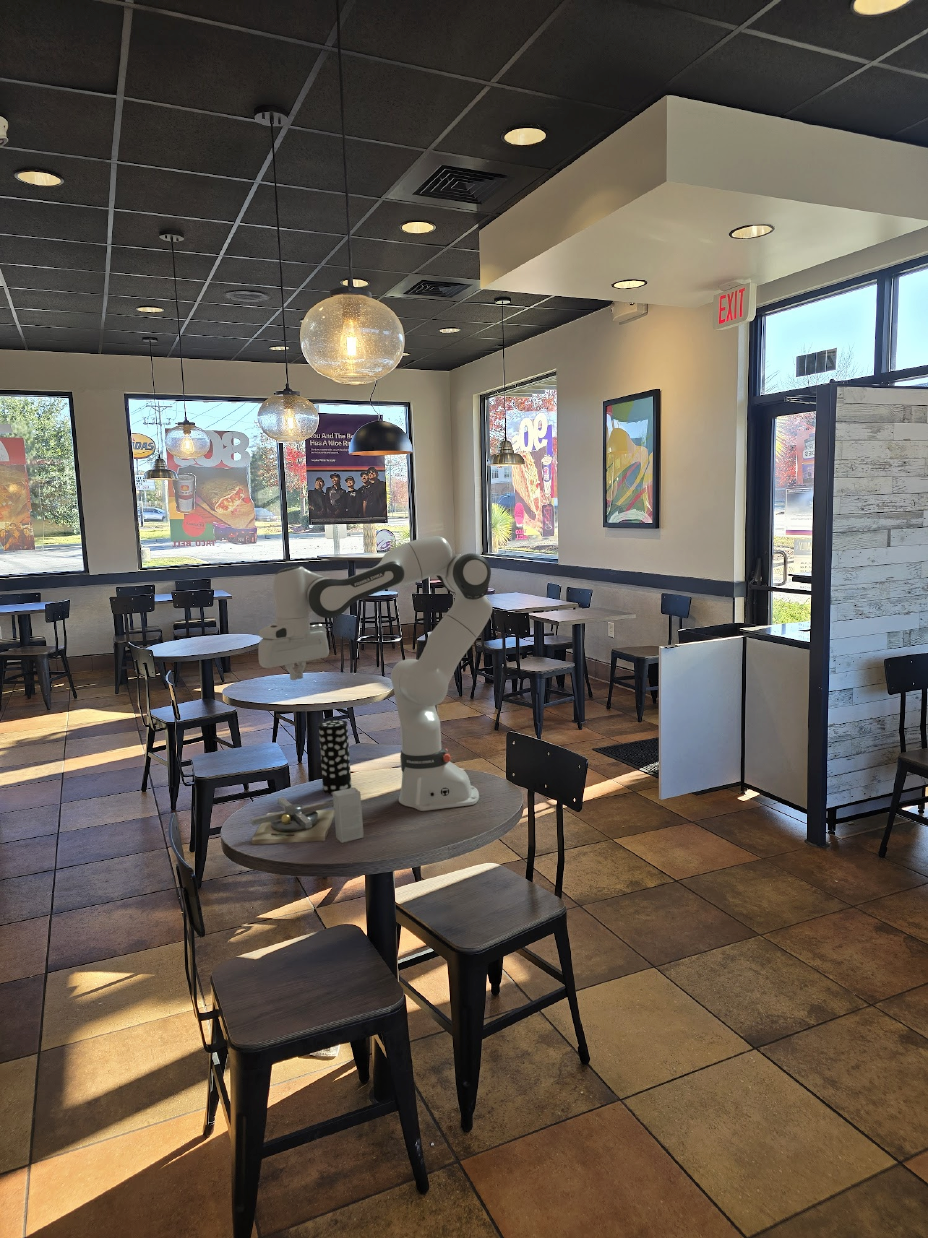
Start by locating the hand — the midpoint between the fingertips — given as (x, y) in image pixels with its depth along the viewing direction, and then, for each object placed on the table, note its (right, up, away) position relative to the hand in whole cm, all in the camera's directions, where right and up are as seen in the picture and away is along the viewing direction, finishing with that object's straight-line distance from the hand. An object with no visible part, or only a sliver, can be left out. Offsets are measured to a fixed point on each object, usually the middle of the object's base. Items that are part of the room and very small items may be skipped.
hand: (296, 679), depth 213 cm
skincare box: (+16, -39, -14) cm, 44 cm away
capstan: (+1, -37, -6) cm, 37 cm away
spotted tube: (+7, -35, +23) cm, 42 cm away
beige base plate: (+1, -38, -6) cm, 39 cm away
